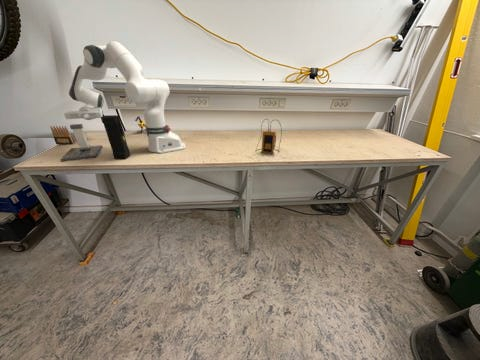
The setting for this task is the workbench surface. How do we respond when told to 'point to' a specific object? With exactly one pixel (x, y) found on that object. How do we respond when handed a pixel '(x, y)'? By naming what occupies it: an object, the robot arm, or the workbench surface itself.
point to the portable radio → (116, 136)
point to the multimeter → (268, 140)
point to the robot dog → (141, 123)
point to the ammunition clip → (62, 136)
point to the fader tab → (80, 136)
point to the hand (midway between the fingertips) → (81, 117)
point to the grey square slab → (81, 153)
